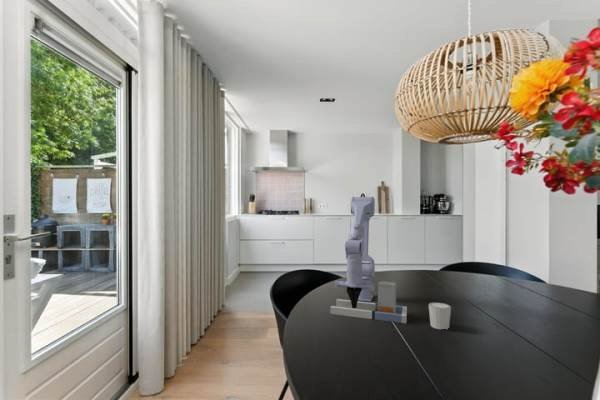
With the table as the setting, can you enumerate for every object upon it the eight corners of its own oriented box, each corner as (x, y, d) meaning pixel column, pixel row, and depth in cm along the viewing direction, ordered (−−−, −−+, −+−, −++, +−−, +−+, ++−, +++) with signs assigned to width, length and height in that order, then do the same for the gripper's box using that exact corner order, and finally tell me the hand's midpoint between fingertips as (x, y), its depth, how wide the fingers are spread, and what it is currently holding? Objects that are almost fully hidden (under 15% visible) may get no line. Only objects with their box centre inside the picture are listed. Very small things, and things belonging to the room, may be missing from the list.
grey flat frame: (337, 305, 125) (337, 299, 125) (406, 313, 116) (406, 306, 116) (330, 313, 115) (330, 307, 115) (406, 323, 106) (406, 316, 106)
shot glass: (433, 321, 109) (433, 300, 109) (454, 326, 104) (454, 305, 104) (425, 326, 104) (425, 305, 104) (446, 332, 99) (446, 309, 99)
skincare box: (377, 316, 113) (377, 283, 113) (379, 312, 117) (379, 280, 117) (394, 318, 110) (394, 284, 111) (396, 315, 114) (396, 282, 115)
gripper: (333, 271, 117) (333, 308, 116) (372, 275, 112) (372, 313, 111) (337, 268, 123) (337, 303, 123) (375, 271, 118) (374, 307, 118)
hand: (354, 307), depth 118 cm, fingers closed
